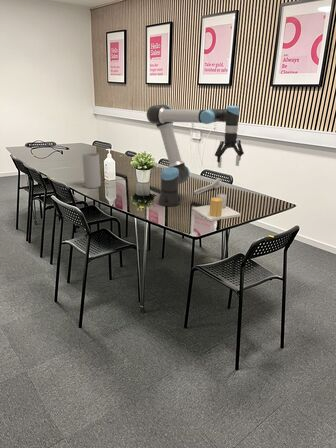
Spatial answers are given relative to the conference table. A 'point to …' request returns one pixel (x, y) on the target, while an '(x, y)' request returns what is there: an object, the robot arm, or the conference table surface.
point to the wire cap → (216, 207)
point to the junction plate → (226, 210)
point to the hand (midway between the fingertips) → (228, 166)
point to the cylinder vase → (91, 170)
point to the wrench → (209, 186)
